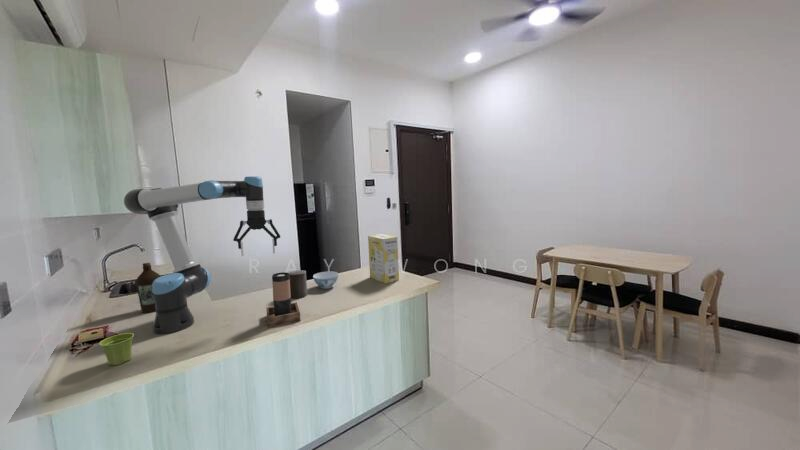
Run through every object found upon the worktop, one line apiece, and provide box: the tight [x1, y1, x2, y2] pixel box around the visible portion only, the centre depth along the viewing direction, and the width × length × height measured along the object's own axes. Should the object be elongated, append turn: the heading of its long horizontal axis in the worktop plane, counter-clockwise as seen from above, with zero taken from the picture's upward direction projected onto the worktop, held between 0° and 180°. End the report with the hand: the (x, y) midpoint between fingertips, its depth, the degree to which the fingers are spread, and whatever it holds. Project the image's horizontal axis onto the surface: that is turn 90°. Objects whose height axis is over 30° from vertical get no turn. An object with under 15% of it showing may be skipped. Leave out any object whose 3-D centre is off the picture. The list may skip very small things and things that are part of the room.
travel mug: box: [271, 272, 292, 316], centre depth 146 cm, size 8×8×20 cm
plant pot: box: [98, 332, 135, 366], centre depth 114 cm, size 9×9×9 cm
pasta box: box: [367, 233, 400, 285], centre depth 201 cm, size 18×10×28 cm, turn 37°
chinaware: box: [312, 270, 339, 290], centre depth 190 cm, size 15×15×8 cm
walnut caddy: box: [266, 302, 301, 328], centre depth 147 cm, size 14×14×4 cm
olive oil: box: [135, 262, 161, 314], centre depth 163 cm, size 11×11×25 cm
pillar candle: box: [288, 269, 308, 300], centre depth 176 cm, size 10×10×15 cm
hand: (258, 254), depth 149 cm, fingers open, 13 cm apart
